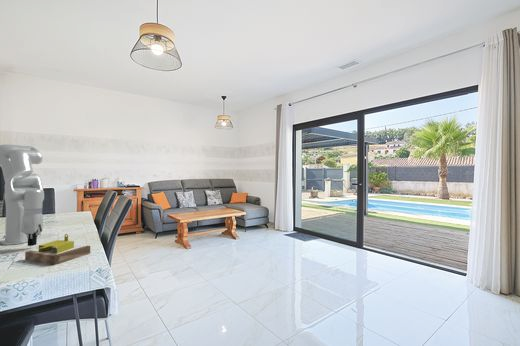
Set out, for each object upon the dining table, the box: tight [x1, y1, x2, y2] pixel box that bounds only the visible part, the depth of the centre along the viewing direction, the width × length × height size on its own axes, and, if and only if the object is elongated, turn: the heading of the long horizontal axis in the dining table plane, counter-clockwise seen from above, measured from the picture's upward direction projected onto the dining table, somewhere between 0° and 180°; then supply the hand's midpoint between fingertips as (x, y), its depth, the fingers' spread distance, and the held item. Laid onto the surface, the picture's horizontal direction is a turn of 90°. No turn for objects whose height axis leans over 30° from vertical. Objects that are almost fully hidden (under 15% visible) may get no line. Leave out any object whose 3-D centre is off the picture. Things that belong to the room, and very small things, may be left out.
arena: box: [24, 245, 91, 266], centre depth 124 cm, size 19×18×4 cm
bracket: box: [38, 233, 75, 254], centre depth 133 cm, size 16×8×15 cm
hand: (32, 245), depth 136 cm, fingers closed
